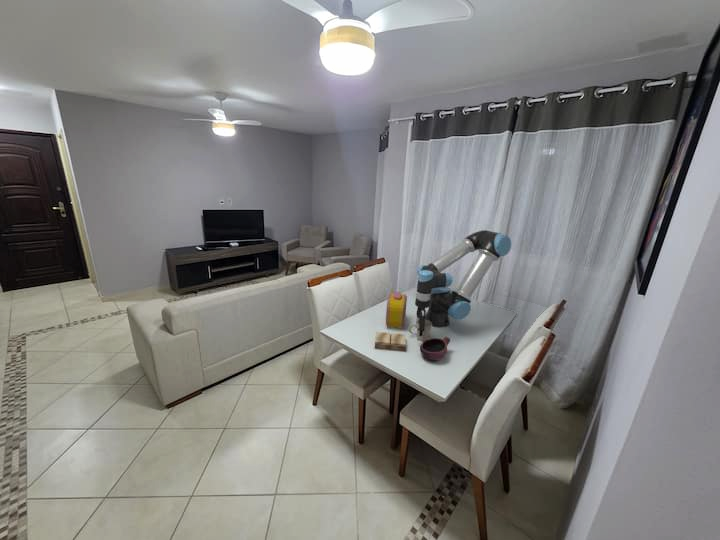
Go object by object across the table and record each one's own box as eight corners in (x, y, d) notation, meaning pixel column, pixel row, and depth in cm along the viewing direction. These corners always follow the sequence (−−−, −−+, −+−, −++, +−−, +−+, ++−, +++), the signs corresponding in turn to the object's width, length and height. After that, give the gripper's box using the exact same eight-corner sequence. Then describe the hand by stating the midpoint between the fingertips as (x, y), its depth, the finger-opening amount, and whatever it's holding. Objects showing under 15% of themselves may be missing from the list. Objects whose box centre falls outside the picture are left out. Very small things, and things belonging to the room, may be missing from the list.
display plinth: (404, 340, 149) (405, 333, 148) (405, 351, 139) (406, 344, 138) (375, 337, 151) (376, 331, 150) (374, 348, 141) (374, 342, 139)
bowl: (442, 367, 127) (444, 353, 125) (416, 359, 133) (417, 345, 131) (449, 351, 141) (451, 337, 138) (425, 343, 147) (427, 330, 144)
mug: (430, 343, 147) (432, 327, 144) (407, 340, 149) (408, 324, 146) (430, 335, 155) (431, 320, 152) (407, 333, 157) (409, 317, 154)
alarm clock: (388, 315, 177) (390, 288, 171) (405, 317, 175) (407, 290, 169) (384, 329, 160) (386, 299, 154) (403, 332, 158) (406, 301, 152)
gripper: (414, 290, 157) (410, 322, 163) (417, 308, 133) (413, 345, 139) (427, 291, 156) (423, 324, 162) (433, 309, 132) (428, 347, 139)
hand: (418, 334), depth 151 cm, fingers open, 13 cm apart
